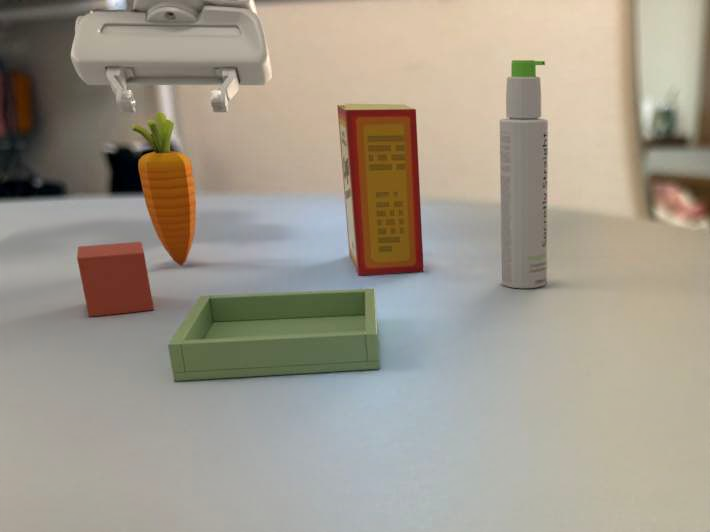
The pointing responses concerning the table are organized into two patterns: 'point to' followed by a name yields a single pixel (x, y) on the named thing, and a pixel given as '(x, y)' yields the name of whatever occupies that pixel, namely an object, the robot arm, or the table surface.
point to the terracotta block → (114, 278)
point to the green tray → (276, 335)
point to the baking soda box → (381, 187)
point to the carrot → (168, 189)
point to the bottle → (524, 180)
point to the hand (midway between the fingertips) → (173, 108)
